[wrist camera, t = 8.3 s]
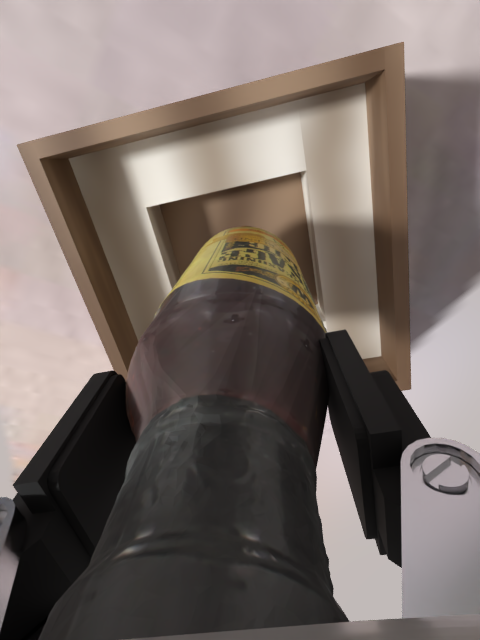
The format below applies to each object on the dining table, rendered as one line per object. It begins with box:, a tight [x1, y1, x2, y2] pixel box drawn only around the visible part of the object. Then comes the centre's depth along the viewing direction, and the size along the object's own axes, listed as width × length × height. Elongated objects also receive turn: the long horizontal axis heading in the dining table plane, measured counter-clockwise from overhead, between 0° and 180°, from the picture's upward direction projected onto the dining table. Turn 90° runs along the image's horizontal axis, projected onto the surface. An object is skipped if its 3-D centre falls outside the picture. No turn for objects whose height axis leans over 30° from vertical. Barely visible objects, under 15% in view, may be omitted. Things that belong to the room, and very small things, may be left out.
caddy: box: [17, 42, 411, 391], centre depth 23 cm, size 18×18×7 cm
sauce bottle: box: [38, 226, 349, 640], centre depth 13 cm, size 6×6×20 cm
